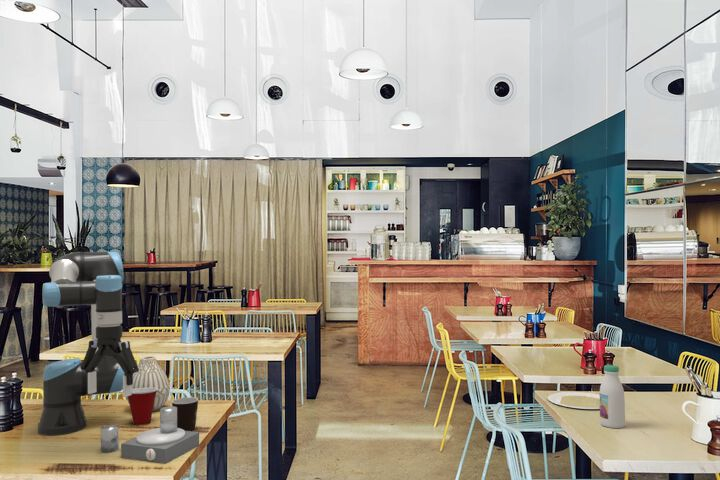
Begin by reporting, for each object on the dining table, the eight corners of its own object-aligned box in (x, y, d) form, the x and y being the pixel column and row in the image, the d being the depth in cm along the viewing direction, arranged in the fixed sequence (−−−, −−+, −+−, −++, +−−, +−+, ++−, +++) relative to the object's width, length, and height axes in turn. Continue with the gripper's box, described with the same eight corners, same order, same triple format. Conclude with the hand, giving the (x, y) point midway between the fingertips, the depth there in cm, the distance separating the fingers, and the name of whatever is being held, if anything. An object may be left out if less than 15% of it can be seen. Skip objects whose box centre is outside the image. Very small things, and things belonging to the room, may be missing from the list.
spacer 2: (156, 432, 176) (156, 410, 176) (167, 428, 180) (166, 405, 180) (170, 434, 174) (170, 411, 174) (180, 429, 179) (180, 406, 179)
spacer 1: (97, 451, 174) (96, 428, 174) (109, 446, 179) (109, 424, 179) (110, 453, 172) (109, 430, 173) (122, 448, 177) (122, 425, 177)
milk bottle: (625, 423, 195) (623, 364, 195) (625, 430, 188) (623, 368, 188) (600, 420, 198) (599, 363, 198) (599, 427, 191) (598, 367, 191)
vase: (119, 409, 221) (119, 357, 222) (159, 401, 232) (159, 352, 233) (135, 417, 210) (135, 363, 210) (176, 409, 220) (176, 357, 221)
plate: (566, 391, 241) (566, 388, 241) (627, 402, 222) (627, 399, 222) (535, 402, 224) (535, 399, 224) (598, 415, 205) (598, 412, 205)
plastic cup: (161, 417, 210) (160, 384, 210) (154, 426, 199) (154, 391, 199) (130, 419, 208) (130, 386, 208) (122, 428, 197) (121, 393, 198)
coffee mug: (190, 434, 189) (190, 404, 189) (167, 433, 191) (166, 403, 191) (207, 424, 201) (206, 395, 201) (184, 423, 202) (184, 394, 202)
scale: (119, 457, 169) (119, 440, 169) (157, 440, 184) (157, 424, 184) (164, 464, 163) (164, 446, 163) (199, 445, 179) (199, 429, 179)
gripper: (68, 325, 177) (68, 394, 176) (133, 327, 169) (133, 400, 168) (87, 322, 184) (87, 389, 183) (150, 324, 176) (150, 394, 175)
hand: (109, 394), depth 176 cm, fingers open, 13 cm apart
